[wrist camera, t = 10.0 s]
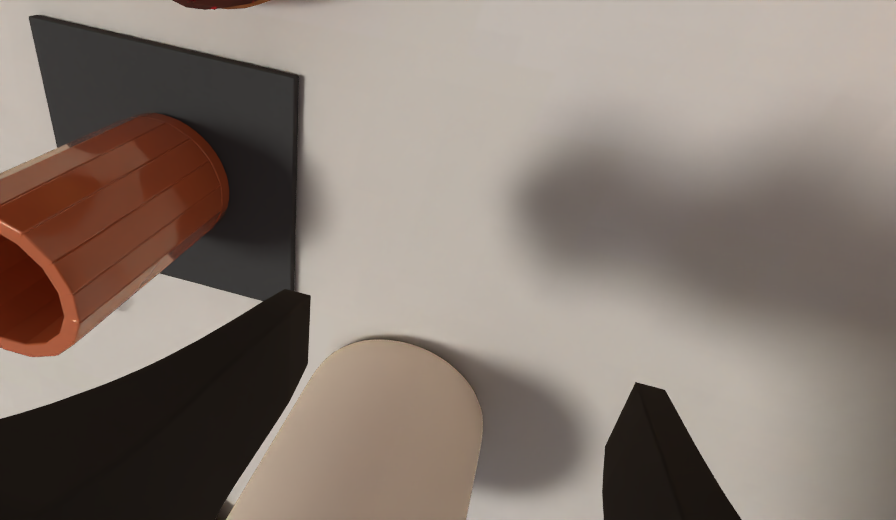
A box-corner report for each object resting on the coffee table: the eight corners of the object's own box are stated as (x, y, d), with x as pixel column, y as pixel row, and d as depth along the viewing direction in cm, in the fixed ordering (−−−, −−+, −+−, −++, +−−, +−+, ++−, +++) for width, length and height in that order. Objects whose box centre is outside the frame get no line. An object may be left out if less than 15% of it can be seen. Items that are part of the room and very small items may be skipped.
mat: (294, 303, 25) (290, 308, 25) (86, 247, 26) (79, 252, 26) (299, 75, 20) (294, 77, 19) (37, 14, 21) (27, 16, 20)
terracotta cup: (232, 244, 24) (92, 375, 17) (121, 215, 24) (-59, 331, 17) (227, 129, 21) (58, 231, 14) (102, 98, 21) (-120, 183, 15)
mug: (336, 496, 32) (242, 714, 23) (232, 393, 29) (82, 597, 20) (521, 436, 26) (488, 690, 18) (415, 304, 24) (316, 528, 15)
